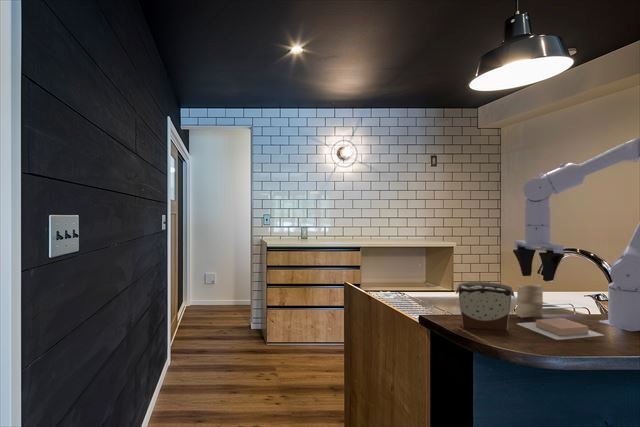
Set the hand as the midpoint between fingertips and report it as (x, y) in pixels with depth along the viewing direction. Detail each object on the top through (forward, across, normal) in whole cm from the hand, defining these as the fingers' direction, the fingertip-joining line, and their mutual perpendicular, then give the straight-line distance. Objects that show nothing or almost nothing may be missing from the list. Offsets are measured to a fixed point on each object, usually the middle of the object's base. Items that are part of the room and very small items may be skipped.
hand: (537, 278), depth 103 cm
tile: (+8, +10, -6) cm, 14 cm away
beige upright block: (+9, +2, -4) cm, 10 cm away
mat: (+9, +13, -6) cm, 17 cm away
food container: (+10, +6, -20) cm, 23 cm away
